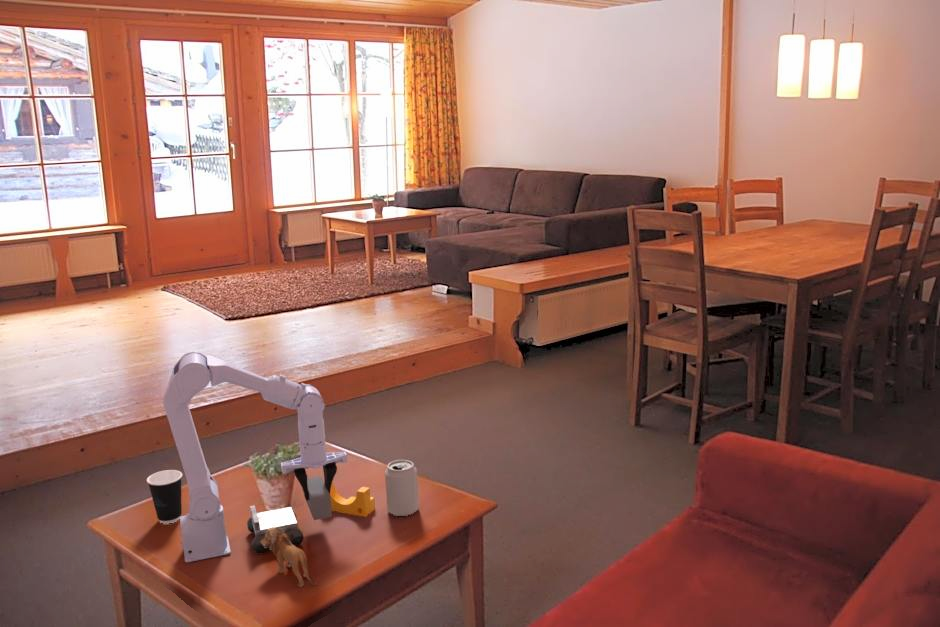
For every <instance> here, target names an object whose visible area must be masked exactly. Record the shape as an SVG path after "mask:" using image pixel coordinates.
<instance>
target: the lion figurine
mask: <svg viewBox="0 0 940 627" xmlns="http://www.w3.org/2000/svg"><path fill="white" fill-rule="evenodd" d="M267 530H268V532H267V534H266V535H265V538H264V539H263V540H261V543H262V545H263V546H264V548H267V547H269V548H270V550H269V551H272V552H273V555H274V556H275V557H276V559H277V564H278V566H279V568H278V569H277V570H276V572H277V574H282V573H284V572H285V566H284V560H285V561H286V567H287V568H292V571H293V573H294V575H295V577H296V578H297V579H298V584H297V586H298V588H303V587H304V585H305V583H304V579H303V578H306V579H307V581H309V583H310V584H311V585H316V584H317V582H316V581H315V580H314V579H312V578H310V573H309V570H308V563H307V562H308V558H307V555H306V553H305V552H304V550H303V549H302V548H300V547H298V546H297V547H296V546H294V545H293V544H292V543H291V540H290V538H289V537H288V536H287V534H286V532H283V531H282V530H281V529H279V528H276V527H271V528H268V529H267ZM300 565H301V567H302V570H303V574H302V575H303V576H302V575H301V572H300Z"/></svg>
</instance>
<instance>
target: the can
mask: <svg viewBox="0 0 940 627" xmlns="http://www.w3.org/2000/svg"><path fill="white" fill-rule="evenodd" d="M418 483H419V482H418V469H417V468H416V467H415V464H414V462H413V461H411V460H408V459H396V460H392V461H391V462H389V463H388V464H387V465H386V469H385V470H384V484H385V497H386V498H385V499H386V509H387V512H388V513H389V514H391V515H392V514H393V515H392V516H394V515H395V516H394V517H397V516H406V517H409V516H408V515H410V516H412V515H414V514H415V513H416V512H417V511H418V510H419V507H420V504H419V503H420V502H419V501H420V500H419V487H418ZM414 512H415V513H414ZM413 513H414V514H413ZM411 514H412V515H411Z"/></svg>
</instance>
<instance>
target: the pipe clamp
mask: <svg viewBox="0 0 940 627" xmlns="http://www.w3.org/2000/svg"><path fill="white" fill-rule="evenodd" d="M330 497H331V509H332V510H333V511H332V512H335V511H336V513H341V512H342V514H346V513H347V514H348V515H352V514H354V515H353V516H357V515H359V516H358V517H362V516H364V518H367V517H368V516H369V515H370V514H371V513H372V512H374V510H376V505H375V502H376V500H375V497H374V496H371V489H370V487H367V486H362V487H360V488H359V489H357V490H356V495H355V496H350V497H349V498H345V497H343V496H341V495H340V494H339V492H338V491H337V489H336V487H335V484H334V481H332V485H331V489H330ZM337 511H338V512H337ZM347 514H346V515H347ZM368 514H369V515H368ZM366 516H367V517H366Z"/></svg>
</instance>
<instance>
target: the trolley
mask: <svg viewBox="0 0 940 627" xmlns="http://www.w3.org/2000/svg"><path fill="white" fill-rule="evenodd" d="M292 508H293V507H292V506H288V507H283V508H281V507H280V508H276V509H272V510H267V511H261V512H257V509H256V506H255V504H253V505H250V506H249V509H250V517H249V518H248V519H247V522H246V523H247V524H246V526H247V529H248V531H249V532H250V533H251V534H254V535H255V536H254V538H253V539H252V542H251V546H252V549H253V552H255V553H256V554H258V555H264V554H266V553H268V552H269V551H271V550H270V548H269V547H267V548H264V546H263V545H262V543H261V540H263V539H264V538H265V535H266V534H267V532H268V530H267V529H268V528H271V527H276V528H279V529H281V530H282V531H283V532H284V533H285V534H287V536H288V537H289V538H290V540H291V543H292V544H293V545H294V546H296V547H297V548H298V547H299V546H301V545H302V544H303V543H304V539H305V536H304V533H303V531H302V529H300V528H298V527H299V526H298V521H297V515H296V513H295V511H294V510H293V509H292Z"/></svg>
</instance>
